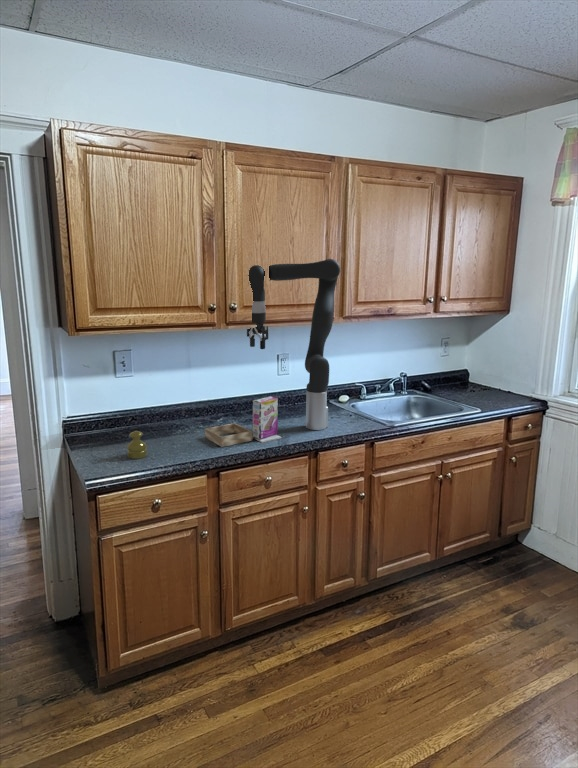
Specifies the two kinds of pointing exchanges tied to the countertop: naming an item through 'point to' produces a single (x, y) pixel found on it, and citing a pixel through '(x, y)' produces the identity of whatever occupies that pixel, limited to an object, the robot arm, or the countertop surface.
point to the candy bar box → (265, 417)
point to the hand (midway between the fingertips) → (257, 347)
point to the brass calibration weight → (136, 446)
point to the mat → (268, 438)
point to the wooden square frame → (239, 437)
